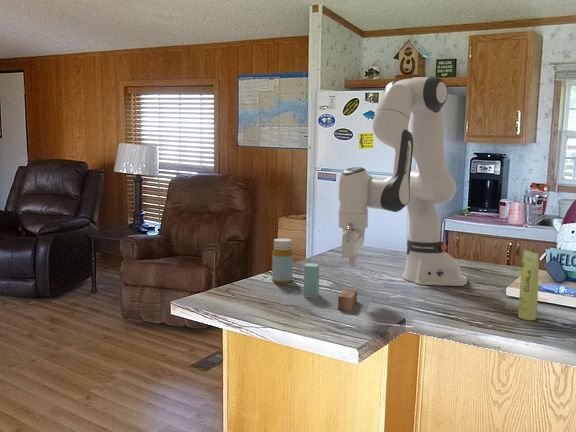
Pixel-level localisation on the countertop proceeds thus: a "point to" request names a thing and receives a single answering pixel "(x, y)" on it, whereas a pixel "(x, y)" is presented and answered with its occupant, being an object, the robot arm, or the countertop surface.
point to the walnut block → (347, 299)
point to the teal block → (311, 280)
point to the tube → (529, 286)
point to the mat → (323, 301)
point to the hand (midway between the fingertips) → (353, 265)
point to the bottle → (282, 261)
